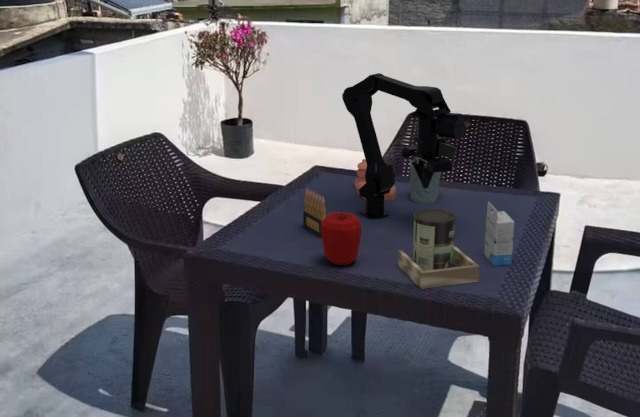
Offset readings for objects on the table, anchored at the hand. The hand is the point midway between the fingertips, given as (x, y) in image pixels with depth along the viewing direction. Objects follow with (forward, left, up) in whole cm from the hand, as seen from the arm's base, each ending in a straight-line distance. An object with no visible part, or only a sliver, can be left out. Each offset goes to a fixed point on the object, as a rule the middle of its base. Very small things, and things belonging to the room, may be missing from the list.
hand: (425, 188), depth 222 cm
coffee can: (+26, -12, -12) cm, 32 cm away
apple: (+14, -32, -12) cm, 37 cm away
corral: (+29, -13, -12) cm, 34 cm away
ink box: (+28, +6, -12) cm, 31 cm away
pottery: (-36, 0, -12) cm, 38 cm away
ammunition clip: (-9, -30, -12) cm, 34 cm away
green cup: (-23, +13, -12) cm, 29 cm away
